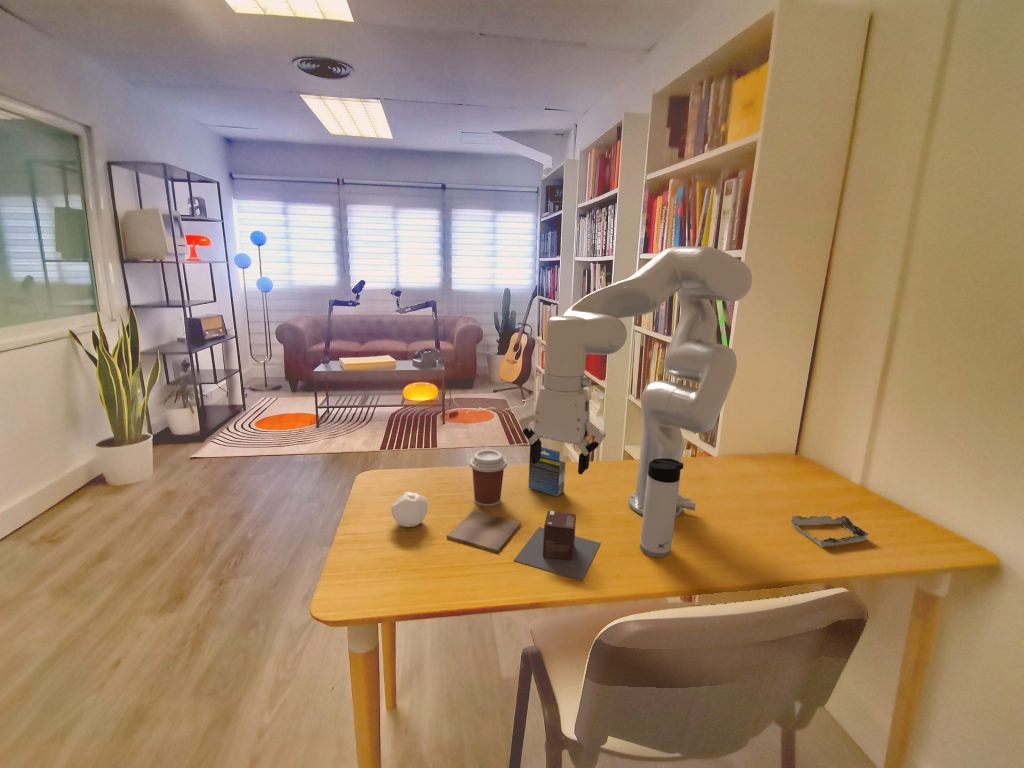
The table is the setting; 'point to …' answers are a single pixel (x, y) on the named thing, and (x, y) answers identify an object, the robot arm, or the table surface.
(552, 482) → the label tape cartridge
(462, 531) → the walnut pad
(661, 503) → the travel mug
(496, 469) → the coffee cup
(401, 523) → the white rounded piece
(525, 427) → the robot arm
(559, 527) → the box
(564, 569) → the mat
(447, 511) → the table surface
